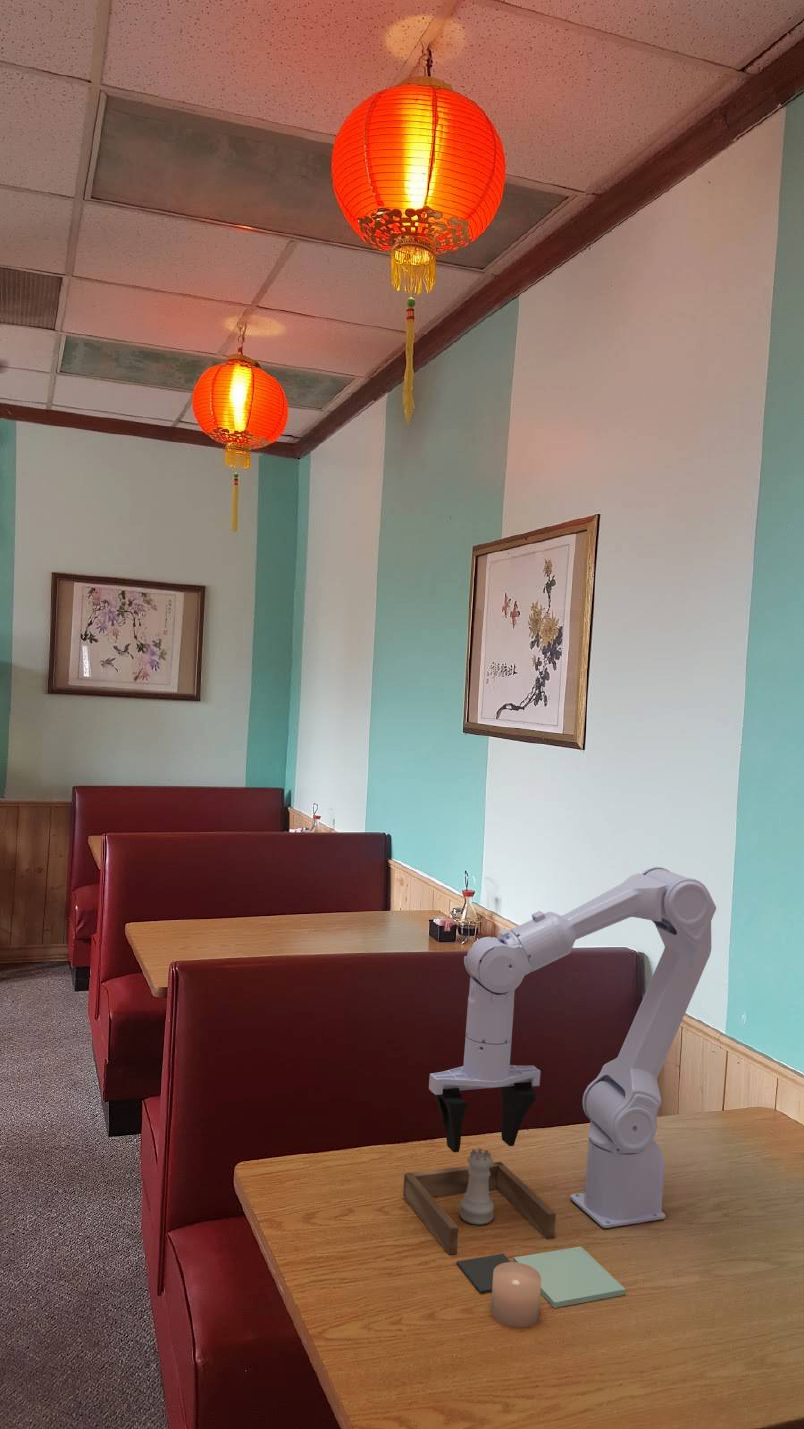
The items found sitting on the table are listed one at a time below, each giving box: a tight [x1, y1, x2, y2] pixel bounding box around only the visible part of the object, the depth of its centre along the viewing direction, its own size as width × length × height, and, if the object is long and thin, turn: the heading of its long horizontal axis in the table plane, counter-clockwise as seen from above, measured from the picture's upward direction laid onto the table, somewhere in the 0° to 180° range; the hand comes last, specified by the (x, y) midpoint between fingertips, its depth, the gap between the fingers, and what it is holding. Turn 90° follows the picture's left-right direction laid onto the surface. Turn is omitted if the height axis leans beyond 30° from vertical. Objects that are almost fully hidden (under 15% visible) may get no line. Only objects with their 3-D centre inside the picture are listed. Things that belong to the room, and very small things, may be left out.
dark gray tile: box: [456, 1253, 511, 1295], centre depth 112 cm, size 6×6×1 cm
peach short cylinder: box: [490, 1261, 541, 1329], centre depth 105 cm, size 5×5×4 cm
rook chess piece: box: [458, 1148, 495, 1226], centre depth 125 cm, size 4×4×8 cm
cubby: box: [402, 1161, 557, 1255], centre depth 125 cm, size 14×14×3 cm
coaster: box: [512, 1246, 626, 1309], centre depth 112 cm, size 9×9×1 cm
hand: (480, 1145), depth 125 cm, fingers open, 7 cm apart
